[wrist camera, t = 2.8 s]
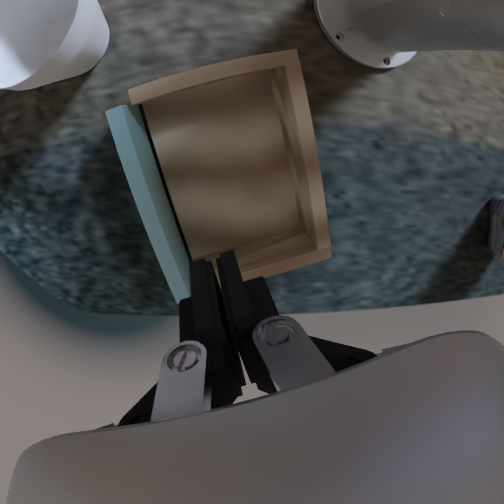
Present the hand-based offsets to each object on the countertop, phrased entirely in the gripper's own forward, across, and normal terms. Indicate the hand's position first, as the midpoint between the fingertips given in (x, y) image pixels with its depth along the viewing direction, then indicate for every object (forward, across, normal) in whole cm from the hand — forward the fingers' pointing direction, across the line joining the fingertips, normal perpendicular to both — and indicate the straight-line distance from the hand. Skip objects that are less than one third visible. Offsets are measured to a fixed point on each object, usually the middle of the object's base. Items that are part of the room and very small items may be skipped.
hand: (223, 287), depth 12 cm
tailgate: (+18, +5, 0) cm, 19 cm away
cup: (+19, +8, -16) cm, 26 cm away
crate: (+19, -3, 0) cm, 19 cm away
